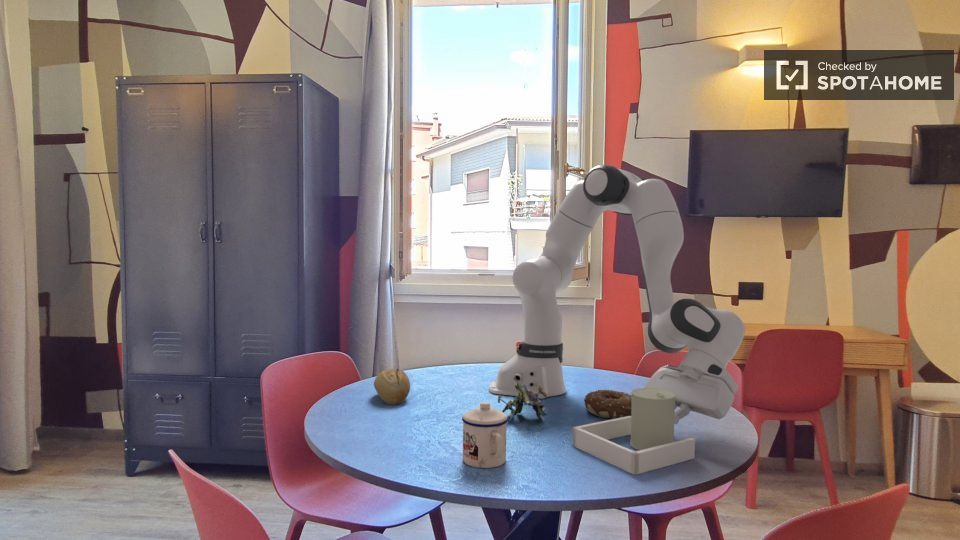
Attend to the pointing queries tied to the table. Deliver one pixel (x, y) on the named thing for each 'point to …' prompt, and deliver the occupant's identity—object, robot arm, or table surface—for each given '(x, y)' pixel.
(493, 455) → the teacup with lid
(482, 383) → the table surface
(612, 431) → the tray
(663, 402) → the can
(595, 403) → the donut
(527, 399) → the passion flower
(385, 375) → the bread roll
